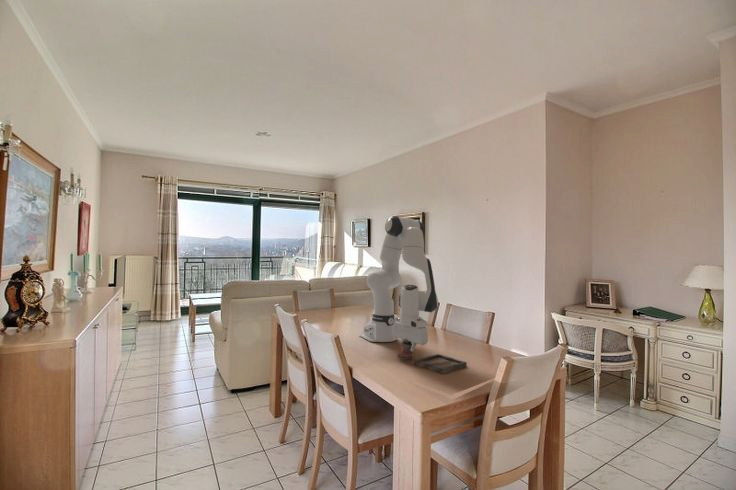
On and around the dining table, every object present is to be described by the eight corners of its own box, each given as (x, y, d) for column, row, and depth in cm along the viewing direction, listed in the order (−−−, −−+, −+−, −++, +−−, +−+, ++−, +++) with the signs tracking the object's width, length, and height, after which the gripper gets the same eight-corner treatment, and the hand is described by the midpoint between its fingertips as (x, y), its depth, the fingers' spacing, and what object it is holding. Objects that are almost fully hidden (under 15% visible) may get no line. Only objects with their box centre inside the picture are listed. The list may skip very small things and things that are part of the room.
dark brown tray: (415, 364, 158) (415, 360, 158) (438, 358, 168) (438, 353, 168) (443, 374, 145) (443, 369, 145) (466, 366, 156) (466, 362, 156)
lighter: (399, 359, 162) (405, 340, 159) (395, 355, 165) (401, 336, 162) (413, 358, 166) (419, 340, 163) (409, 354, 169) (415, 336, 166)
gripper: (389, 317, 170) (388, 346, 169) (420, 324, 154) (420, 356, 153) (398, 316, 173) (398, 344, 173) (430, 323, 157) (429, 354, 157)
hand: (408, 350), depth 163 cm, fingers closed on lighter, 3 cm apart
